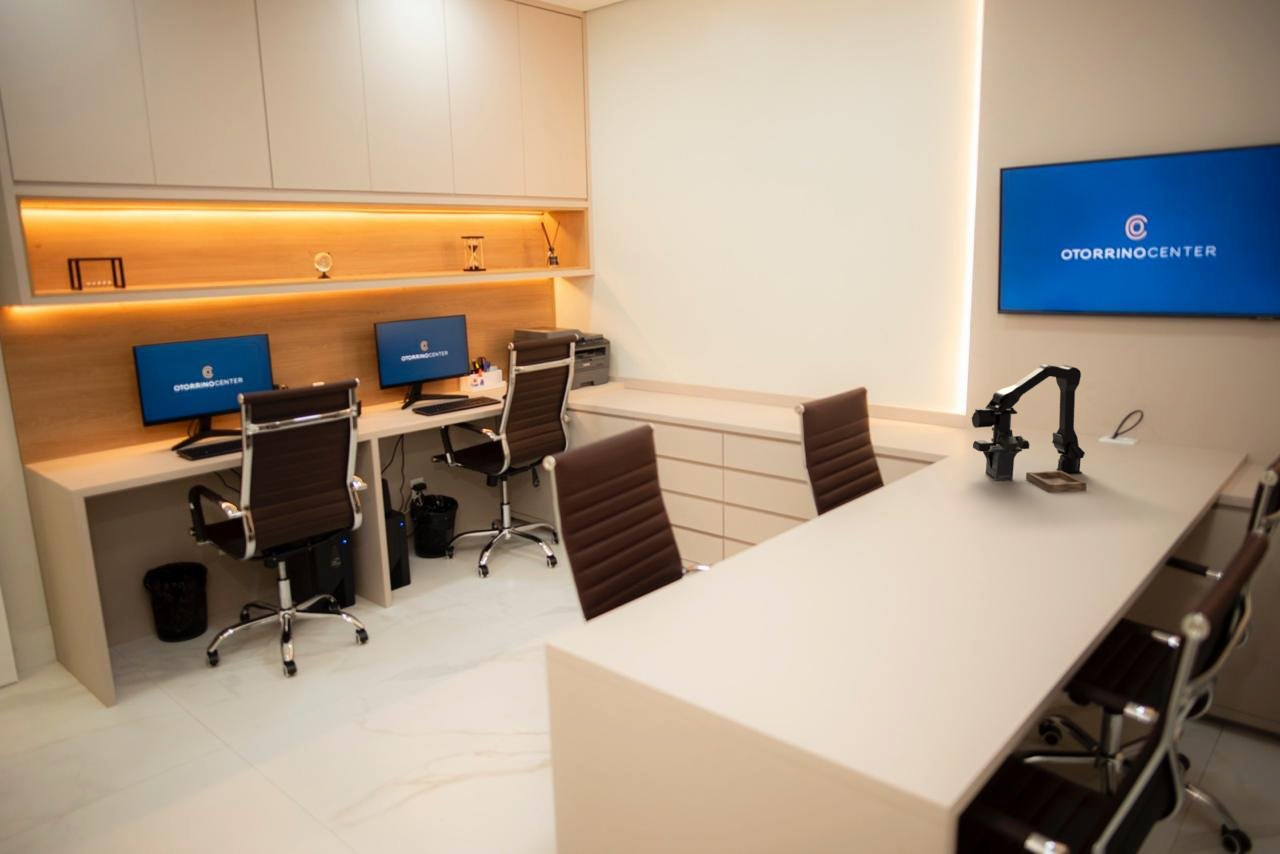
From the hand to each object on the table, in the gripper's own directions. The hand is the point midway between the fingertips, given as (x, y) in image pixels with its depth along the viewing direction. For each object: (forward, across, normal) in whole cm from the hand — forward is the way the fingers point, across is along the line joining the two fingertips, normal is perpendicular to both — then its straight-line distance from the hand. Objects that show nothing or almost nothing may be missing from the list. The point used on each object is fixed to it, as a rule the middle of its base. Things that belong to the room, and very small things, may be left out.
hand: (999, 467), depth 313 cm
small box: (+4, 0, 0) cm, 4 cm away
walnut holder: (+4, +14, -13) cm, 19 cm away
